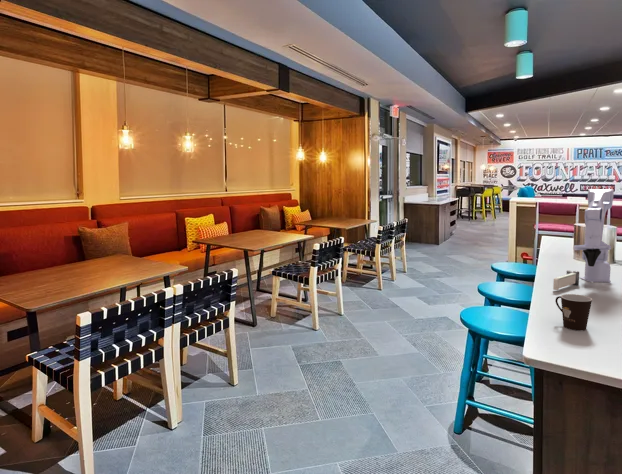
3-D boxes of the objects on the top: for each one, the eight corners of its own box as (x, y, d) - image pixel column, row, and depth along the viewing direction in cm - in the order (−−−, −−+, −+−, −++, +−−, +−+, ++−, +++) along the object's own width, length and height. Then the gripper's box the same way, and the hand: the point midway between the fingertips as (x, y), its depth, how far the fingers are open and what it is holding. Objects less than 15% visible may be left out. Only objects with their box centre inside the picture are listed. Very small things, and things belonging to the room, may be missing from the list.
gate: (571, 283, 188) (572, 272, 188) (575, 284, 187) (576, 273, 186) (553, 289, 180) (553, 278, 179) (557, 290, 178) (557, 278, 178)
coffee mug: (595, 332, 132) (597, 301, 130) (565, 331, 134) (566, 301, 132) (579, 320, 143) (581, 292, 142) (552, 319, 145) (553, 291, 143)
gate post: (564, 280, 196) (565, 268, 195) (570, 280, 196) (570, 268, 195) (574, 285, 188) (574, 272, 187) (579, 285, 187) (580, 272, 187)
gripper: (580, 237, 178) (578, 268, 180) (616, 236, 177) (614, 267, 178) (571, 234, 185) (570, 264, 187) (606, 234, 184) (604, 264, 185)
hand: (591, 266), depth 183 cm, fingers closed
